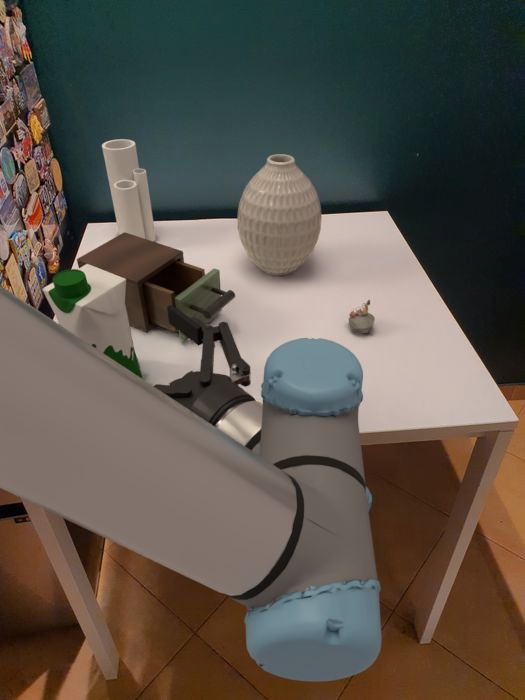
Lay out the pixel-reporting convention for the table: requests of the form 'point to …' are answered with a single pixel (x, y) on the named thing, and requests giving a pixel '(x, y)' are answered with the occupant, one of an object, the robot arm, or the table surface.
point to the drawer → (184, 294)
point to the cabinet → (133, 269)
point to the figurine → (361, 319)
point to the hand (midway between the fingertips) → (125, 334)
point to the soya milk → (94, 311)
